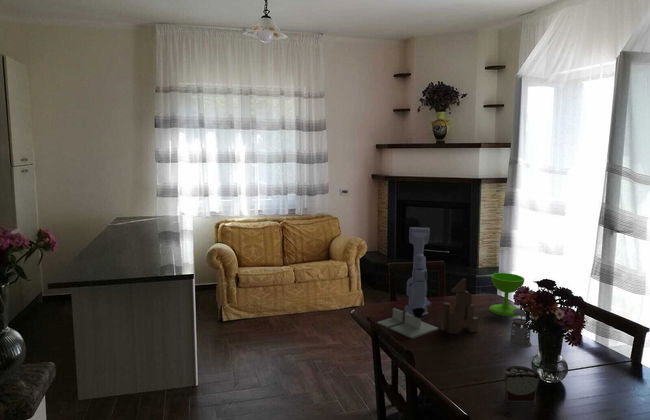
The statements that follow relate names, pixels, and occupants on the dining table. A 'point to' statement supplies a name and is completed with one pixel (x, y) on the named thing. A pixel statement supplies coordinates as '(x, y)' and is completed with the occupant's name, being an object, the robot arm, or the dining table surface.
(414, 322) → the fence panel
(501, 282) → the wineglass
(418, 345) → the dining table surface
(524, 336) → the grey box grater
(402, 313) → the base
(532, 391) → the food container
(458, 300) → the wooden toy
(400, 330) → the board
